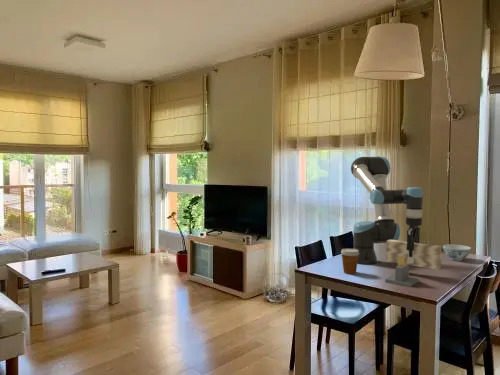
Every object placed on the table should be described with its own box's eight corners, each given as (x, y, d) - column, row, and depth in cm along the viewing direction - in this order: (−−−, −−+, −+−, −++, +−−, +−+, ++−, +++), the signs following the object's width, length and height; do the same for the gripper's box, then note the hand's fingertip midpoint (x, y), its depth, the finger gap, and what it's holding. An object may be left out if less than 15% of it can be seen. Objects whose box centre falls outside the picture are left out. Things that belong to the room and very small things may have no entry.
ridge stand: (385, 282, 189) (385, 257, 188) (394, 276, 198) (394, 253, 197) (410, 287, 181) (411, 261, 181) (418, 281, 190) (419, 256, 190)
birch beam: (386, 261, 208) (386, 240, 208) (389, 259, 212) (390, 239, 211) (438, 269, 192) (438, 247, 191) (441, 267, 195) (441, 246, 195)
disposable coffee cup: (337, 272, 206) (337, 250, 206) (346, 269, 213) (347, 247, 212) (353, 276, 200) (353, 252, 199) (362, 272, 206) (362, 250, 206)
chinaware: (457, 256, 244) (457, 243, 243) (476, 261, 229) (477, 248, 229) (436, 257, 240) (437, 245, 240) (455, 263, 225) (456, 250, 225)
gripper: (415, 219, 191) (414, 266, 193) (427, 216, 205) (425, 259, 206) (400, 218, 196) (399, 264, 197) (412, 214, 210) (411, 257, 211)
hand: (412, 261), depth 202 cm, fingers closed on birch beam, 5 cm apart
